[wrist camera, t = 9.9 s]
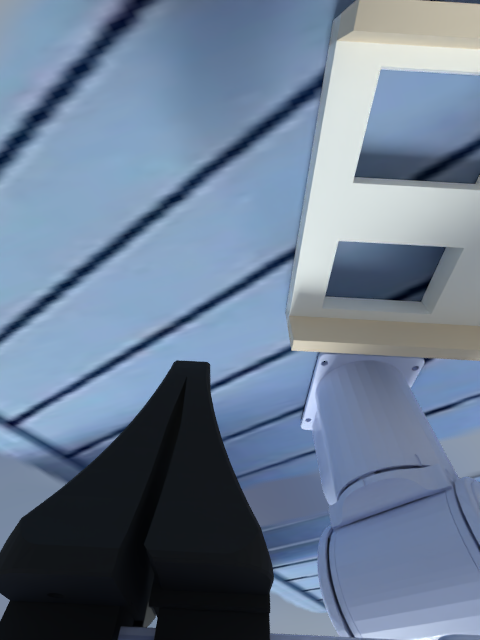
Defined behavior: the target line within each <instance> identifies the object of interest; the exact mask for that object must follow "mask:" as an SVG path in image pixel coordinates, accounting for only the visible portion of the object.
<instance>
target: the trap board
mask: <svg viewBox="0 0 480 640" xmlns="http://www.w3.org/2000/svg"><path fill="white" fill-rule="evenodd" d="M381 69H382V70H398V71H415V72H431V73H448V74H464V75H480V4H471V3H455V2H439V1H423V0H356V1H355V2H353V3H352V4H351V5H350V6H349V7H348V8H347V9H345V10H344V11H343V12H342V13H341V14H340V15H339V16H338V17H336V18H335V19H334V20H333V24H332V30H331V37H330V43H329V49H328V55H327V61H326V67H325V73H324V80H323V86H322V92H321V98H320V104H319V110H318V116H317V122H316V129H315V135H314V141H313V147H312V153H311V159H310V165H309V172H308V178H307V184H306V190H305V196H304V202H303V208H302V214H301V221H300V227H299V233H298V239H297V245H296V251H295V257H294V264H293V270H292V276H291V282H290V288H289V294H288V300H287V306H286V319H287V325H288V331H289V338H290V344H291V350H292V351H310V352H329V353H347V354H366V355H384V356H403V357H421V358H440V359H458V360H477V361H480V175H479V177H478V179H477V181H476V184H466V183H449V182H432V181H414V180H397V179H380V178H363V177H354V176H355V172H356V168H357V164H358V160H359V155H360V151H361V147H362V143H363V139H364V135H365V131H366V127H367V123H368V119H369V115H370V110H371V106H372V102H373V98H374V94H375V90H376V86H377V82H378V78H379V74H380V70H381ZM338 241H350V242H368V243H385V244H403V245H421V246H438V247H446V248H445V251H444V253H443V255H442V257H441V259H440V261H439V264H438V266H437V268H436V270H435V272H434V274H433V277H432V279H431V281H430V283H429V285H428V287H427V290H426V292H425V294H424V296H423V298H422V300H421V302H417V301H399V300H381V299H363V298H345V297H327V296H325V294H326V290H327V286H328V282H329V278H330V274H331V270H332V266H333V262H334V258H335V254H336V249H337V245H338Z"/></svg>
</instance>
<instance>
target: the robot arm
mask: <svg viewBox="0 0 480 640" xmlns="http://www.w3.org/2000/svg"><path fill="white" fill-rule="evenodd" d="M323 361H326V362H323ZM424 362H425V361H424V359H423V358H421V357H403V356H384V355H366V354H347V353H329V352H321V353H319V355H318V359H317V363H316V367H315V371H314V374H313V378H312V382H311V386H310V389H309V393H308V397H307V401H306V405H305V408H304V412H303V416H302V420H301V428H302V429H304V430H312V433H313V439H314V444H315V450H316V455H317V461H318V466H319V472H320V477H321V482H322V488H323V492H324V495H325V497H326V499H327V502H328V503H329V505H330V506H329V507H328V510H329V516H330V521H331V525H330V526H328V527H327V528H326V529H325V530H324V531H323V533H322V535H321V538H320V541H319V546H318V578H319V584H320V589H321V593H322V597H323V601H324V604H325V607H326V610H327V612H328V615H329V617H330V619H331V621H332V624H333V625H334V627H335V629H336V631H337V633H338V634H339V636H340V637H333V636H312V635H290V634H270V625H269V613H270V589H271V587H272V584H273V580H274V575H273V568H272V563H271V559H270V556H269V552H268V549H267V546H266V543H265V540H264V537H263V534H262V530H261V527H260V525H259V523H258V521H257V520H256V518H255V516H254V514H253V512H252V510H251V508H250V506H249V504H248V502H247V500H246V498H245V496H244V493H243V491H242V489H241V487H240V485H239V482H238V480H237V478H236V475H235V473H234V470H233V468H232V466H231V463H230V461H229V458H228V455H227V453H226V450H225V447H224V444H223V441H222V438H221V435H220V431H219V428H218V424H217V421H216V417H215V413H214V408H213V403H212V398H211V392H210V364H209V363H208V362H196V361H175V362H174V363H173V365H172V367H171V369H170V370H169V372H168V374H167V375H166V377H165V378H164V380H163V381H162V383H161V384H160V386H159V387H158V389H157V390H156V391H155V393H154V394H153V395H152V397H151V398H150V399H149V401H148V402H147V403H146V405H145V406H144V407H143V408H142V410H141V411H140V412H139V413H138V415H137V416H136V417H135V418H134V419H133V421H132V422H131V423H130V424H129V425H128V426H127V427H126V429H125V430H124V431H123V432H122V433H121V434H120V435H119V436H118V437H117V438H116V439H115V440H114V441H113V442H112V443H111V444H110V445H109V446H108V447H107V448H106V449H105V450H104V451H103V452H102V453H101V454H100V455H99V456H98V457H97V458H96V459H95V460H94V461H93V462H92V463H90V464H89V465H88V466H87V467H86V468H85V469H84V470H82V471H81V472H80V473H79V474H78V475H76V476H75V477H74V478H73V479H72V480H71V481H69V482H68V483H67V484H66V485H65V486H63V487H62V488H61V489H60V490H58V491H57V492H56V493H55V494H53V495H52V496H51V497H49V498H48V499H47V500H45V501H44V502H43V503H41V504H40V505H39V506H37V507H36V508H35V509H33V510H32V511H31V512H29V513H28V514H27V515H25V516H24V517H22V518H21V520H20V521H19V523H18V524H17V526H16V527H15V529H14V530H13V532H12V533H11V535H10V536H9V538H8V539H7V541H6V543H5V544H4V546H3V548H2V550H1V552H0V593H1V594H2V595H4V596H5V597H6V598H8V599H9V600H10V602H9V604H8V606H7V608H6V611H5V612H4V615H3V617H2V619H1V621H0V640H480V482H478V481H476V480H475V479H473V478H471V477H463V478H460V479H459V477H458V475H457V473H456V472H455V470H454V468H453V466H452V464H451V462H450V461H449V459H448V457H447V455H446V453H445V451H444V450H443V448H442V446H441V444H440V442H439V440H438V438H437V437H436V435H435V433H434V431H433V429H432V427H431V426H430V424H429V422H428V420H427V418H426V416H425V414H424V413H423V411H422V409H421V407H420V405H419V403H418V402H417V400H416V398H415V396H414V394H413V392H412V391H411V387H412V385H413V383H414V381H415V380H416V378H417V376H418V374H419V372H420V370H421V368H422V367H423V365H424ZM414 366H415V367H414ZM156 615H157V617H158V620H157V625H156V628H147V627H148V626H149V625H150V624H151V622H152V621H153V620H154V619H155V616H156Z"/></svg>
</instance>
